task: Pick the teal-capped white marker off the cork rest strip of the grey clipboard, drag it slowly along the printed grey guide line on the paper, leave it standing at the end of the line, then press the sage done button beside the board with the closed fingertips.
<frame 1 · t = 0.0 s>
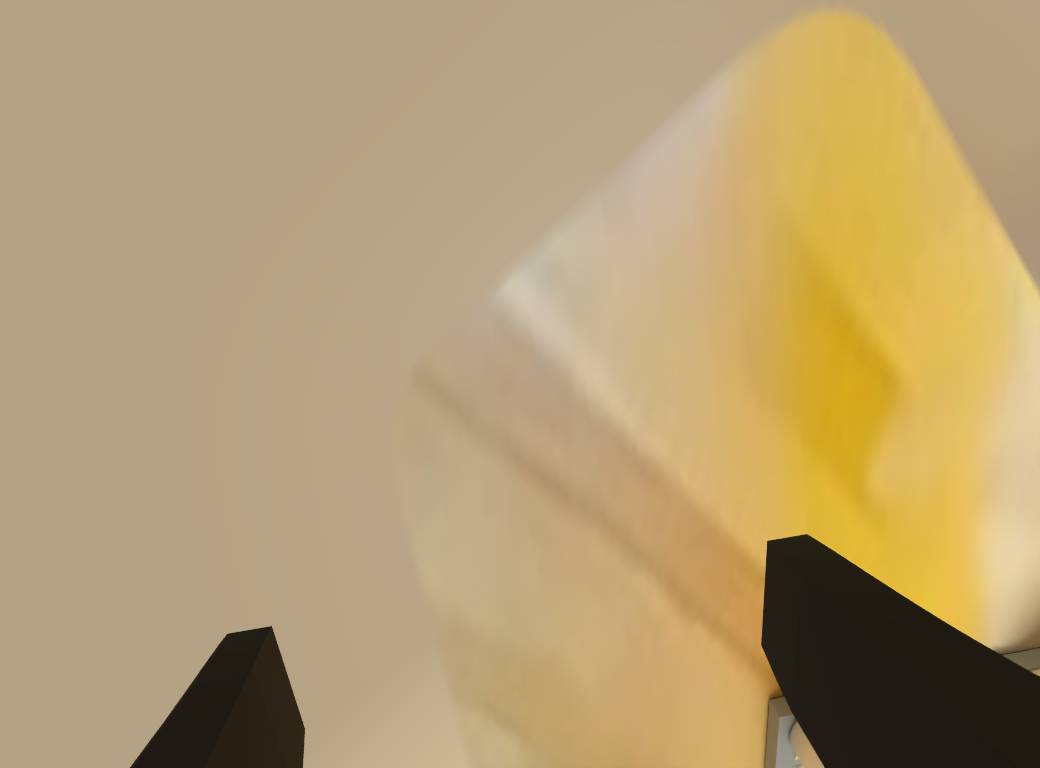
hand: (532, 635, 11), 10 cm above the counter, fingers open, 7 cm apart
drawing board: (907, 752, 29), on the counter
marker plum: (823, 730, 27), point 1 cm above the counter, touching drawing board
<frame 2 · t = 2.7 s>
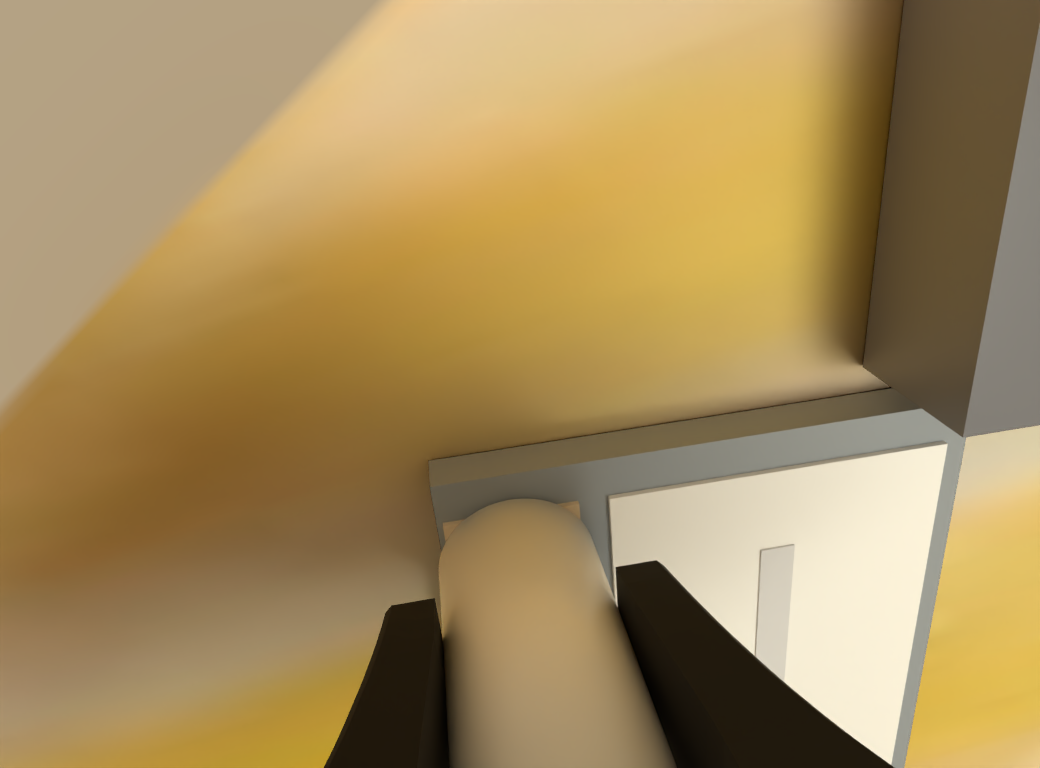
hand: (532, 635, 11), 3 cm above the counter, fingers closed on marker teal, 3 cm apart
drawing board: (691, 676, 15), on the counter
marker teal: (517, 565, 12), point 1 cm above the counter, touching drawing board, gripper
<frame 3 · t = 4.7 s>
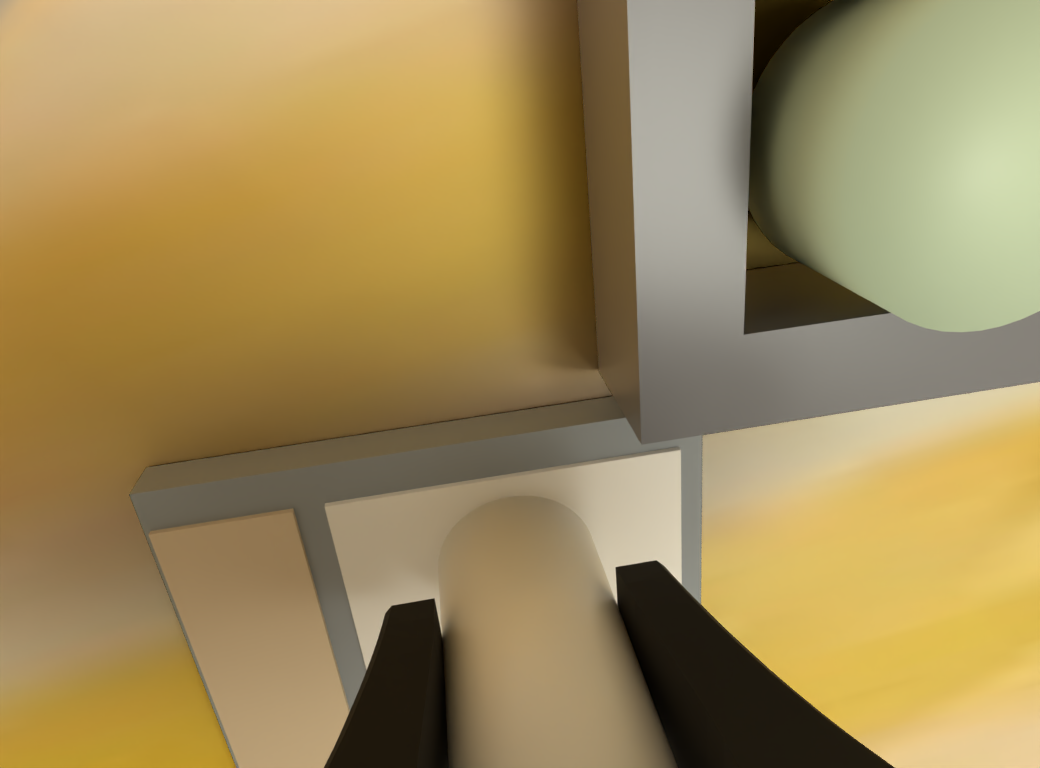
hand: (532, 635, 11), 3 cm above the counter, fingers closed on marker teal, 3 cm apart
done button: (931, 149, 9), point 3 cm above the counter, slide at 0.0 cm
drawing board: (470, 685, 15), on the counter
marker teal: (517, 562, 12), point 1 cm above the counter, touching gripper
button housing: (814, 126, 11), on the counter
when the fingers open (3 cm above the counter, at t = 6.8 s): marker teal stays where it is, resting on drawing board.
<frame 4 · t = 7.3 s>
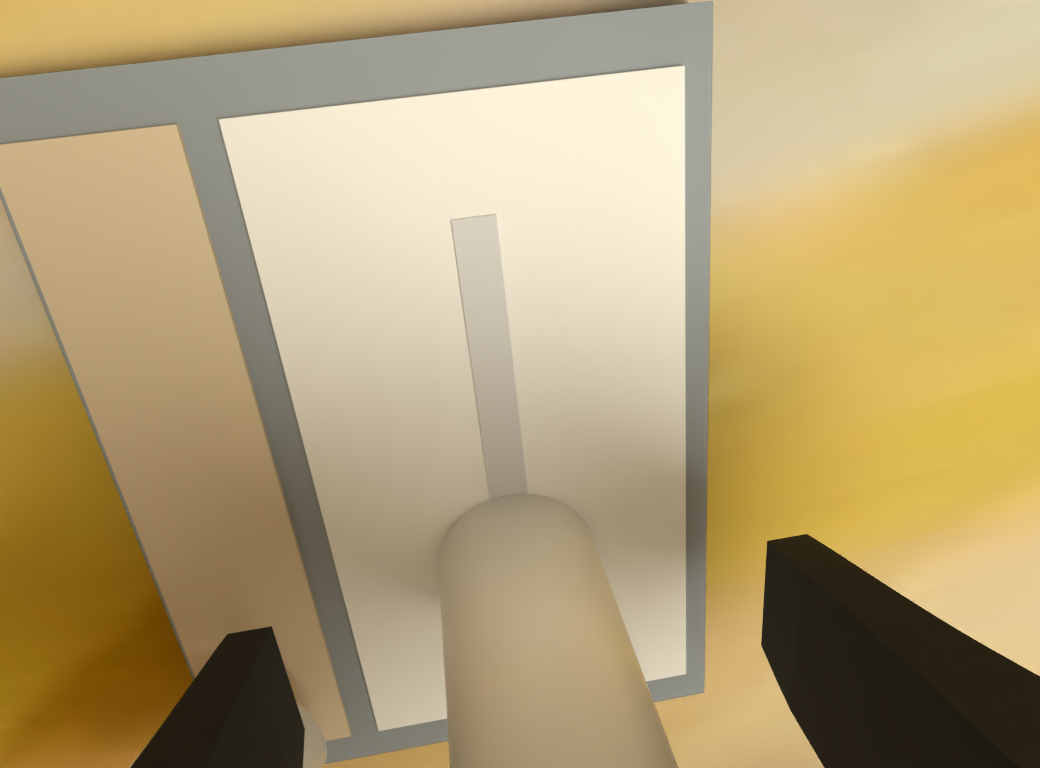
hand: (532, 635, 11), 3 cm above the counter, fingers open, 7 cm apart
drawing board: (425, 441, 12), on the counter
marker teal: (517, 560, 12), point 1 cm above the counter, touching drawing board
marker plum: (257, 728, 12), point 1 cm above the counter, tilted 23°, touching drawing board
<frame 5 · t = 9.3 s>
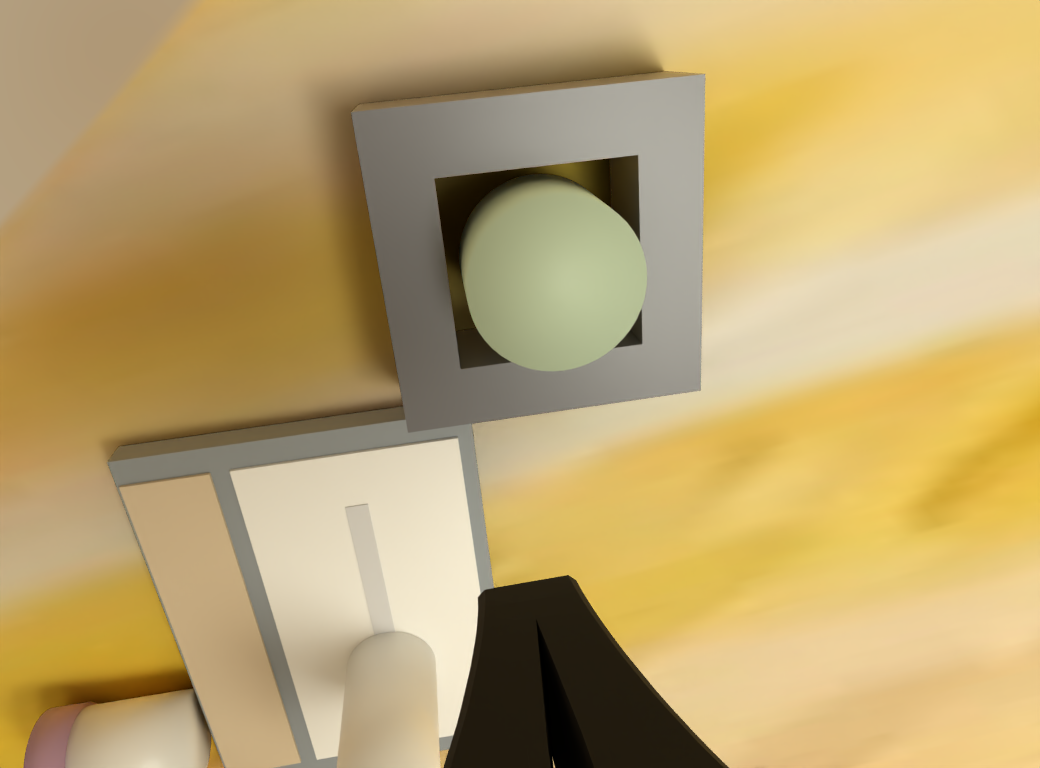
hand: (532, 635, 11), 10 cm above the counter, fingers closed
done button: (547, 270, 16), point 3 cm above the counter, slide at 0.0 cm
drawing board: (341, 600, 22), on the counter
marker teal: (392, 665, 22), point 1 cm above the counter, touching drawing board
button housing: (528, 240, 18), on the counter
marker plum: (197, 735, 21), point 1 cm above the counter, tilted 88°
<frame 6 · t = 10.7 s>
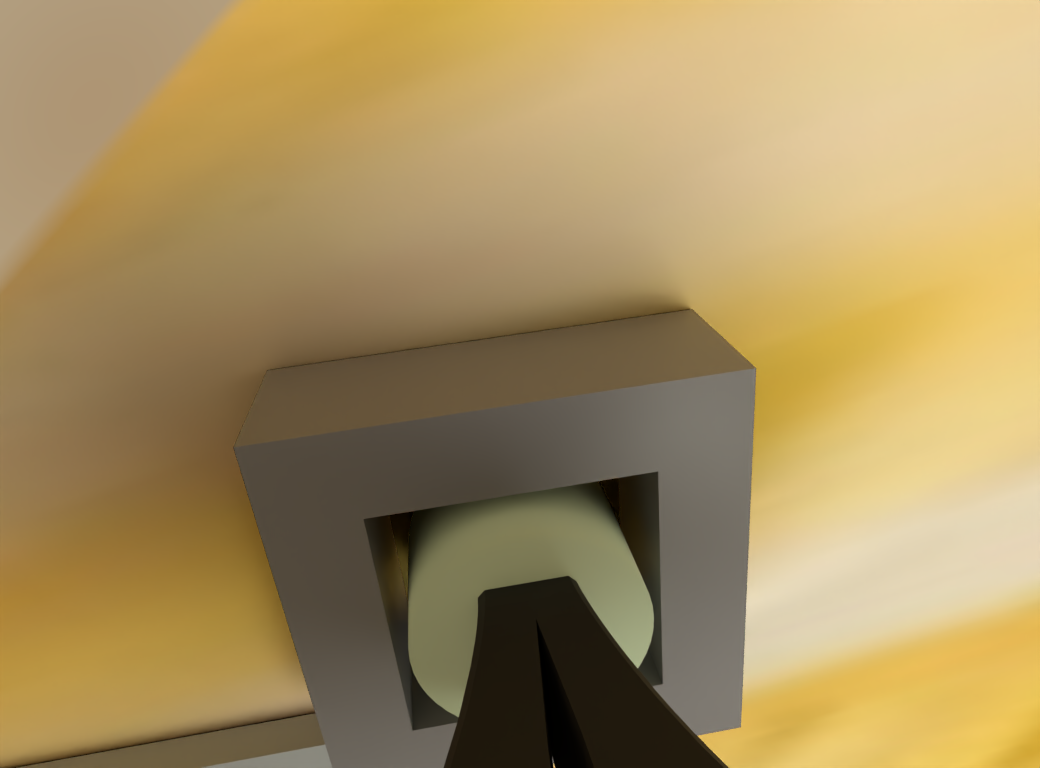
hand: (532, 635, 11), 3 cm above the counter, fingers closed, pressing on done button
done button: (521, 582, 12), point 2 cm above the counter, slide at 0.9 cm, touching gripper
button housing: (507, 515, 13), on the counter
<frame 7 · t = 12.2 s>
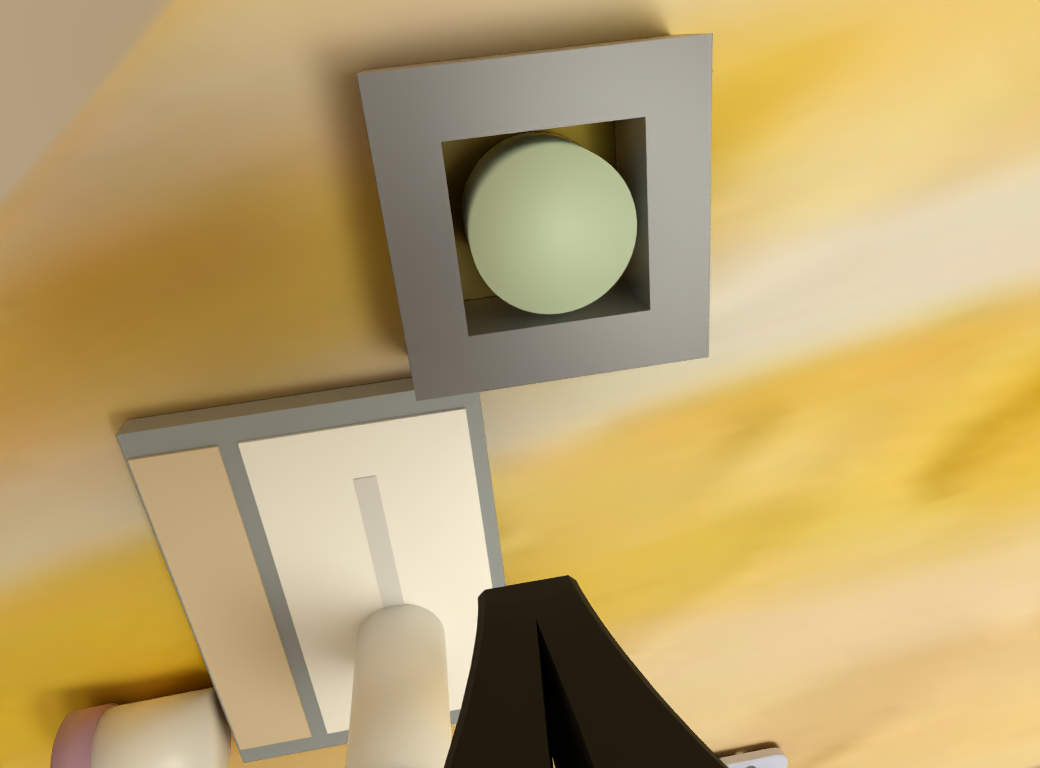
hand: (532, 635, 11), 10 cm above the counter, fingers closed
done button: (544, 220, 17), point 1 cm above the counter, slide at 1.3 cm
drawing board: (350, 573, 22), on the counter
marker teal: (401, 639, 22), point 1 cm above the counter, touching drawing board
button housing: (534, 208, 18), on the counter
marker plum: (217, 733, 22), point 1 cm above the counter, tilted 88°
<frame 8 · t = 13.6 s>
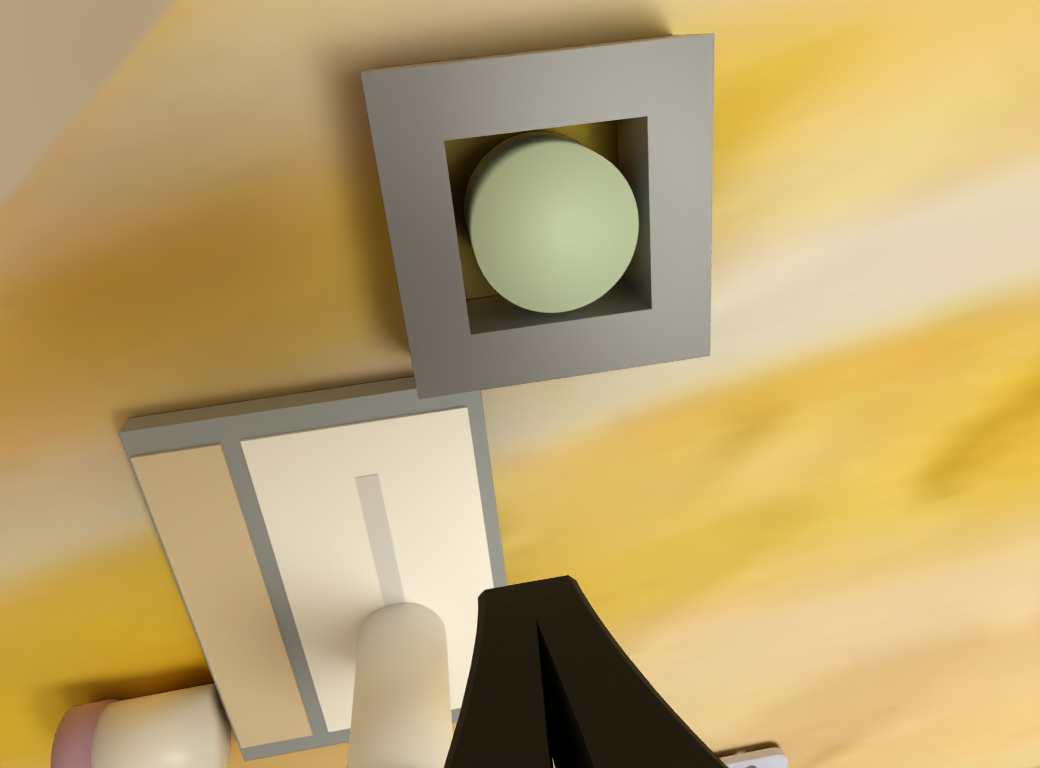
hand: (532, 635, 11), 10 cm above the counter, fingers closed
done button: (546, 219, 17), point 1 cm above the counter, slide at 1.3 cm
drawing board: (351, 572, 22), on the counter
marker teal: (402, 637, 22), point 1 cm above the counter, touching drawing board
button housing: (536, 207, 18), on the counter
marker plum: (217, 729, 22), point 1 cm above the counter, tilted 88°
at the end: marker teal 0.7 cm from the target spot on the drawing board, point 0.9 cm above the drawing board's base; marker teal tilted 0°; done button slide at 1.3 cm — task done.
